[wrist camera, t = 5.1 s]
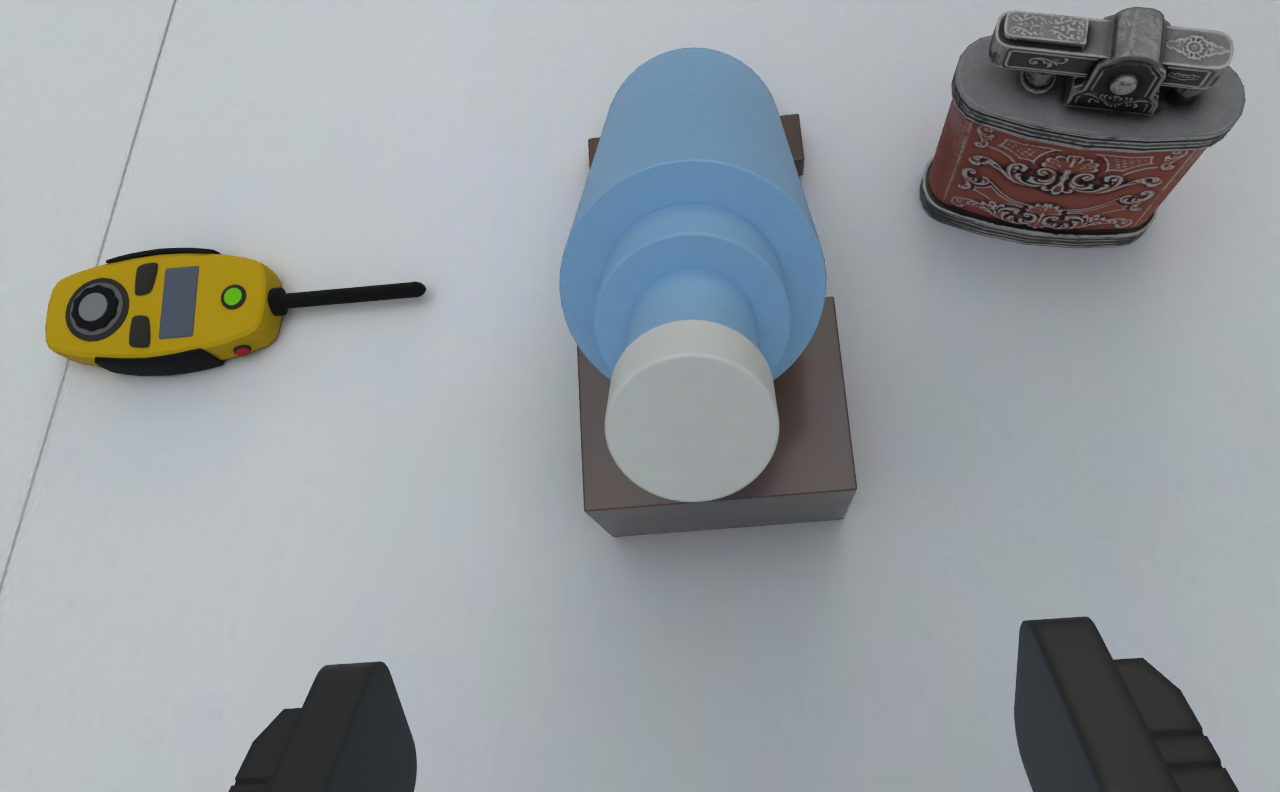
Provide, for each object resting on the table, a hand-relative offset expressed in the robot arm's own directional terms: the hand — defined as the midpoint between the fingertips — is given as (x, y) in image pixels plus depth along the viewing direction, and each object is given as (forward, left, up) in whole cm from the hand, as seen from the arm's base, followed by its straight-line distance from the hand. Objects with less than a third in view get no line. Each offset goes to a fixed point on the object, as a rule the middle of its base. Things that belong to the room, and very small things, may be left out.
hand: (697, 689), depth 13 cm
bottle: (0, -12, -21) cm, 24 cm away
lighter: (-12, -16, -21) cm, 29 cm away
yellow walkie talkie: (+18, -15, -21) cm, 32 cm away
